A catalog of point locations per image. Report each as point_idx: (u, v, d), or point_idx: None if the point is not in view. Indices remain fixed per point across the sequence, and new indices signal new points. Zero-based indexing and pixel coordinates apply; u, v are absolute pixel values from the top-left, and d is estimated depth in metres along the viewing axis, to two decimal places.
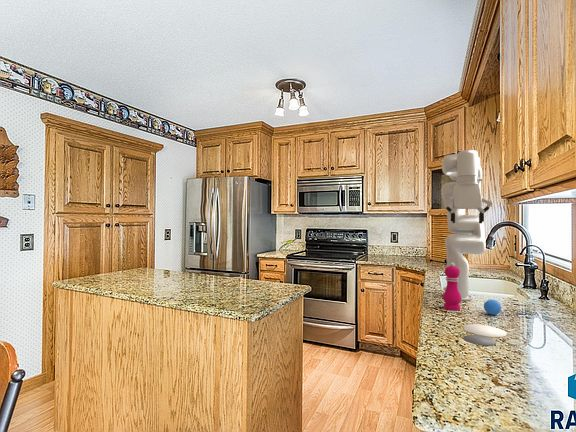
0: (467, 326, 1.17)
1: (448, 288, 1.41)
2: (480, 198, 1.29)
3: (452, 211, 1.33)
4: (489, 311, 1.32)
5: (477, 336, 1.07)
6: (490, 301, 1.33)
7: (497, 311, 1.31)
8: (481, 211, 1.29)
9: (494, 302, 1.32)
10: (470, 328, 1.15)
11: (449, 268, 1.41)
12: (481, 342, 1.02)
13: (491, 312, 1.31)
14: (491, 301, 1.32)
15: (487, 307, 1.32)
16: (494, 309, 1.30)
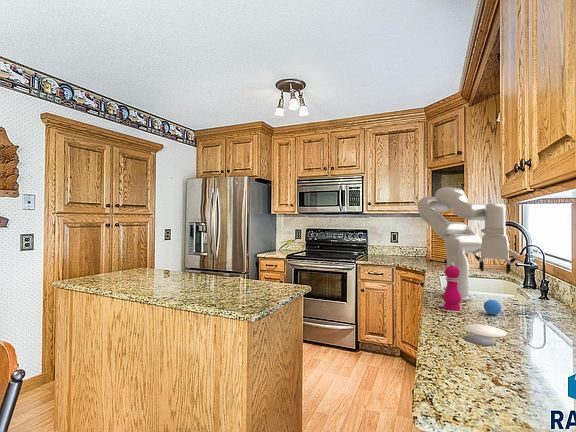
0: (467, 326, 1.17)
1: (448, 288, 1.41)
2: None
3: None
4: (489, 311, 1.32)
5: (477, 336, 1.07)
6: (490, 301, 1.33)
7: (497, 311, 1.31)
8: None
9: (494, 302, 1.32)
10: (470, 328, 1.15)
11: (449, 268, 1.41)
12: (481, 342, 1.02)
13: (491, 312, 1.31)
14: (491, 301, 1.32)
15: (487, 307, 1.32)
16: (494, 309, 1.30)
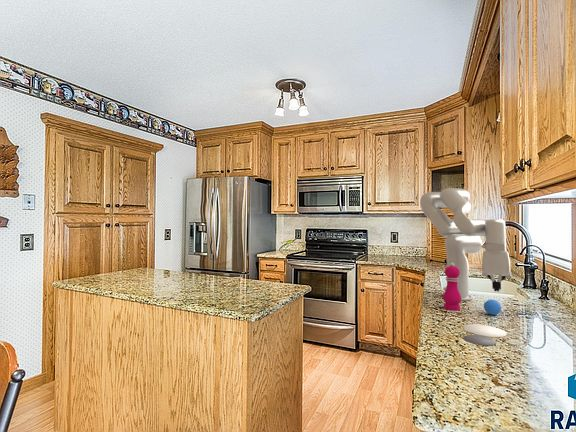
0: (467, 326, 1.17)
1: (448, 288, 1.41)
2: None
3: None
4: (489, 311, 1.32)
5: (477, 336, 1.07)
6: (490, 301, 1.33)
7: (497, 311, 1.31)
8: (494, 278, 1.42)
9: (494, 302, 1.32)
10: (470, 328, 1.15)
11: (449, 268, 1.41)
12: (481, 342, 1.02)
13: (491, 312, 1.31)
14: (491, 301, 1.32)
15: (487, 307, 1.32)
16: (494, 309, 1.30)
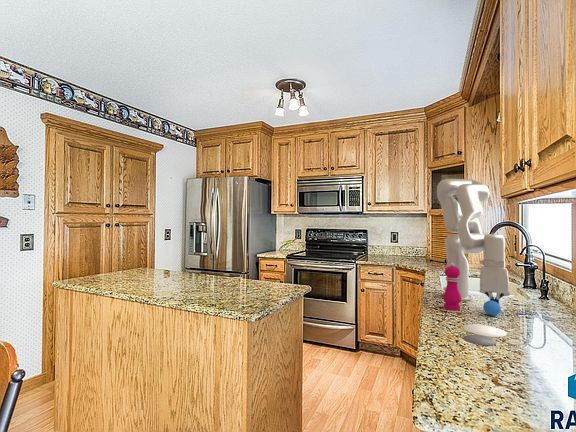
0: (467, 326, 1.17)
1: (448, 288, 1.41)
2: None
3: None
4: (489, 313, 1.31)
5: (477, 336, 1.07)
6: (489, 303, 1.31)
7: (497, 313, 1.30)
8: None
9: (494, 305, 1.30)
10: (470, 328, 1.15)
11: (449, 268, 1.41)
12: (481, 342, 1.02)
13: (491, 314, 1.31)
14: (490, 304, 1.31)
15: (487, 310, 1.31)
16: (494, 312, 1.29)
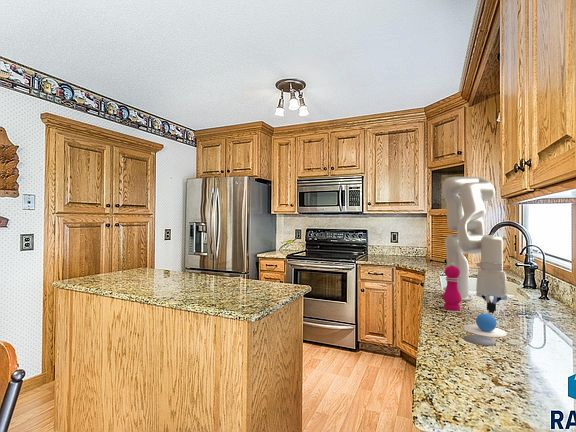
0: (467, 326, 1.17)
1: (448, 288, 1.41)
2: None
3: None
4: None
5: (477, 336, 1.07)
6: (483, 329, 1.12)
7: None
8: None
9: (488, 330, 1.11)
10: (470, 328, 1.15)
11: (449, 268, 1.41)
12: (481, 342, 1.02)
13: None
14: (484, 330, 1.11)
15: None
16: None
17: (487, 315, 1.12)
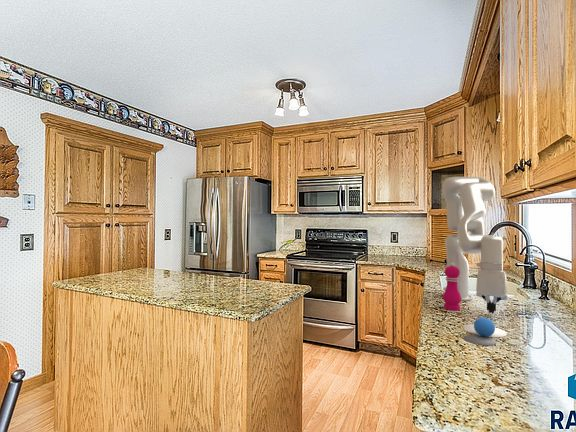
0: (467, 326, 1.17)
1: (448, 288, 1.41)
2: None
3: None
4: None
5: (477, 336, 1.07)
6: None
7: (491, 321, 1.07)
8: None
9: None
10: (470, 328, 1.15)
11: (449, 268, 1.41)
12: (481, 342, 1.02)
13: None
14: None
15: None
16: None
17: (485, 335, 1.06)
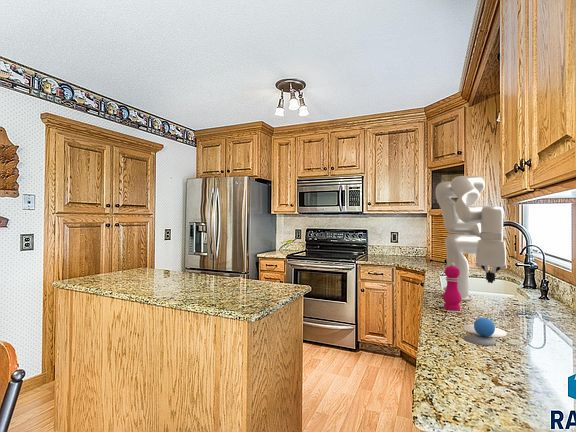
0: (467, 326, 1.17)
1: (448, 288, 1.41)
2: None
3: None
4: None
5: (477, 336, 1.07)
6: None
7: (491, 321, 1.07)
8: (488, 268, 1.33)
9: None
10: (470, 328, 1.15)
11: (449, 268, 1.41)
12: (481, 342, 1.02)
13: None
14: None
15: None
16: None
17: (485, 335, 1.06)
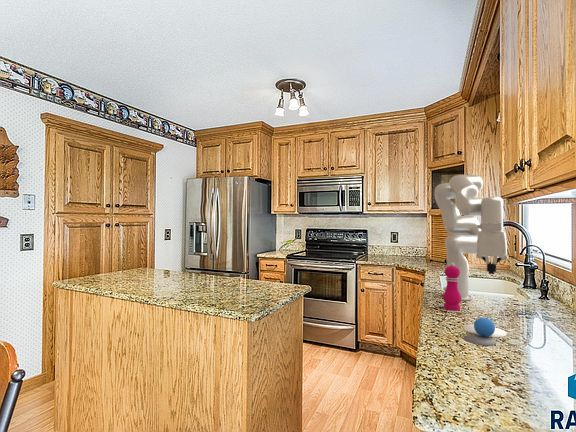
0: (467, 326, 1.17)
1: (448, 288, 1.41)
2: None
3: None
4: None
5: (477, 336, 1.07)
6: None
7: (491, 321, 1.07)
8: (489, 260, 1.33)
9: None
10: (470, 328, 1.15)
11: (449, 268, 1.41)
12: (481, 342, 1.02)
13: None
14: None
15: None
16: None
17: (485, 335, 1.06)
